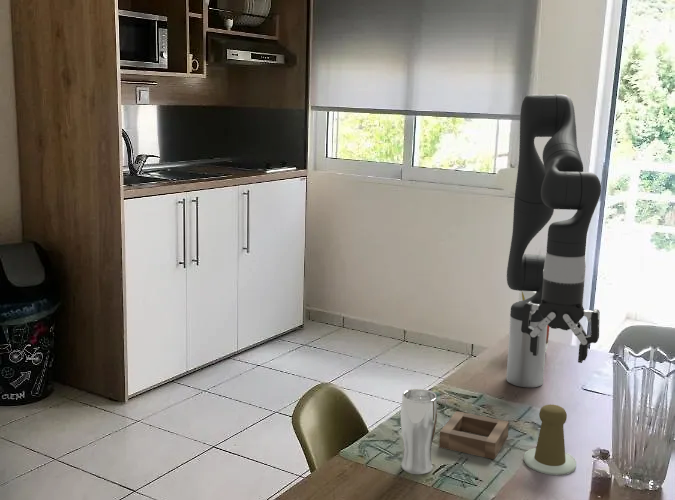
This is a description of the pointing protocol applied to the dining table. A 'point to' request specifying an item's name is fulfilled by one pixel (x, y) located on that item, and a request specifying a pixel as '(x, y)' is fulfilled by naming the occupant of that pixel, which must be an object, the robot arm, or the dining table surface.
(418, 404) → the beer glass
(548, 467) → the coaster
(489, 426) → the frame
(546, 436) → the olive pawn
